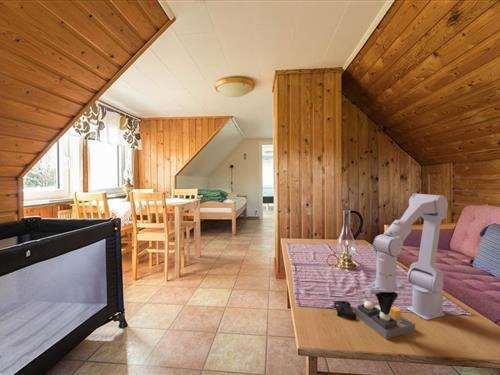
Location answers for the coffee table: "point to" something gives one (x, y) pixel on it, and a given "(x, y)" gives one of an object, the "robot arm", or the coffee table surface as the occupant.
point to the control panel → (382, 327)
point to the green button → (384, 317)
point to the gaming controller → (344, 309)
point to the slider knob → (395, 313)
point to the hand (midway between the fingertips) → (384, 312)
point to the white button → (368, 305)
